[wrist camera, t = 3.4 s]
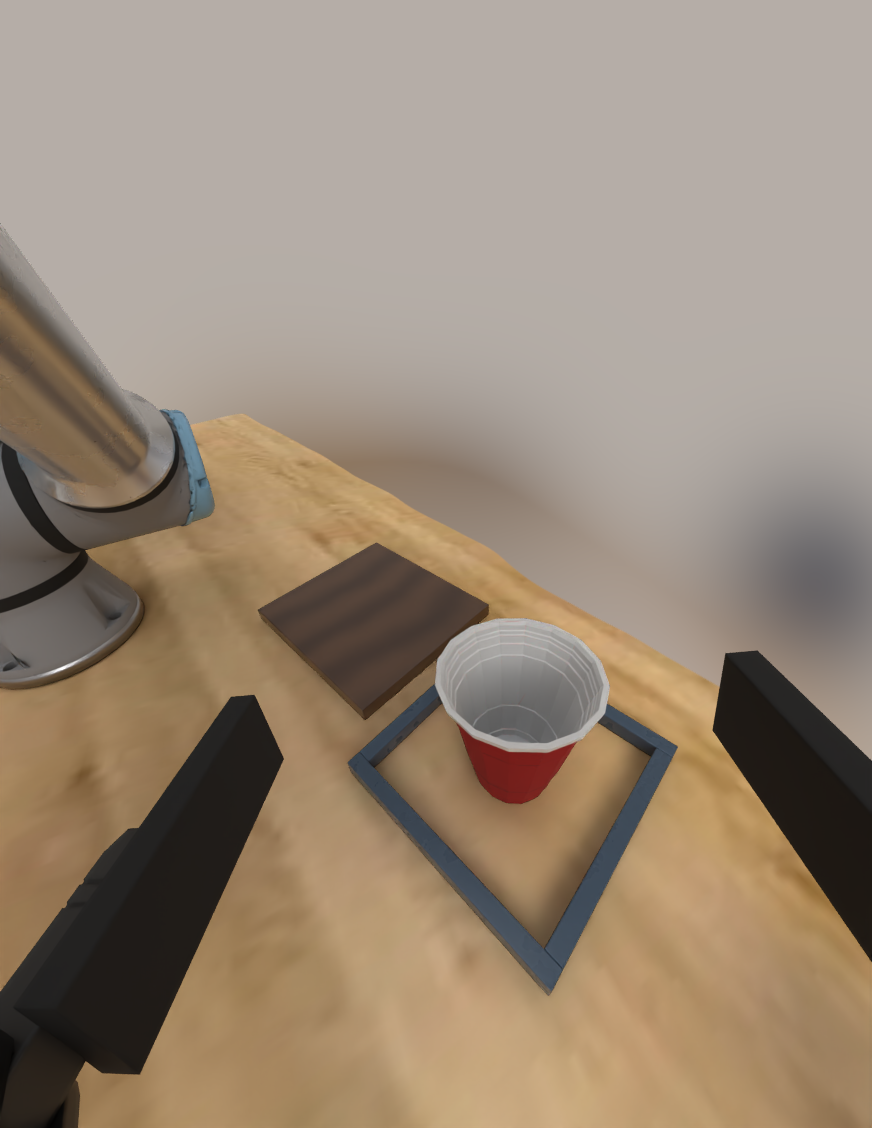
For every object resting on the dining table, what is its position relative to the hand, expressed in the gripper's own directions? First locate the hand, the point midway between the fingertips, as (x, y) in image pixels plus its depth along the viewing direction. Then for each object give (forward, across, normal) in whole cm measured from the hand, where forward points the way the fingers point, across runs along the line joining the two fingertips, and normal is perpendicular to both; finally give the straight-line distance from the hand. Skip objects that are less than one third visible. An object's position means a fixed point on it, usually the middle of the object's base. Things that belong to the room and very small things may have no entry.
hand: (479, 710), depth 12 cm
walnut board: (+31, -13, -15) cm, 37 cm away
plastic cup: (+14, +1, -21) cm, 25 cm away
